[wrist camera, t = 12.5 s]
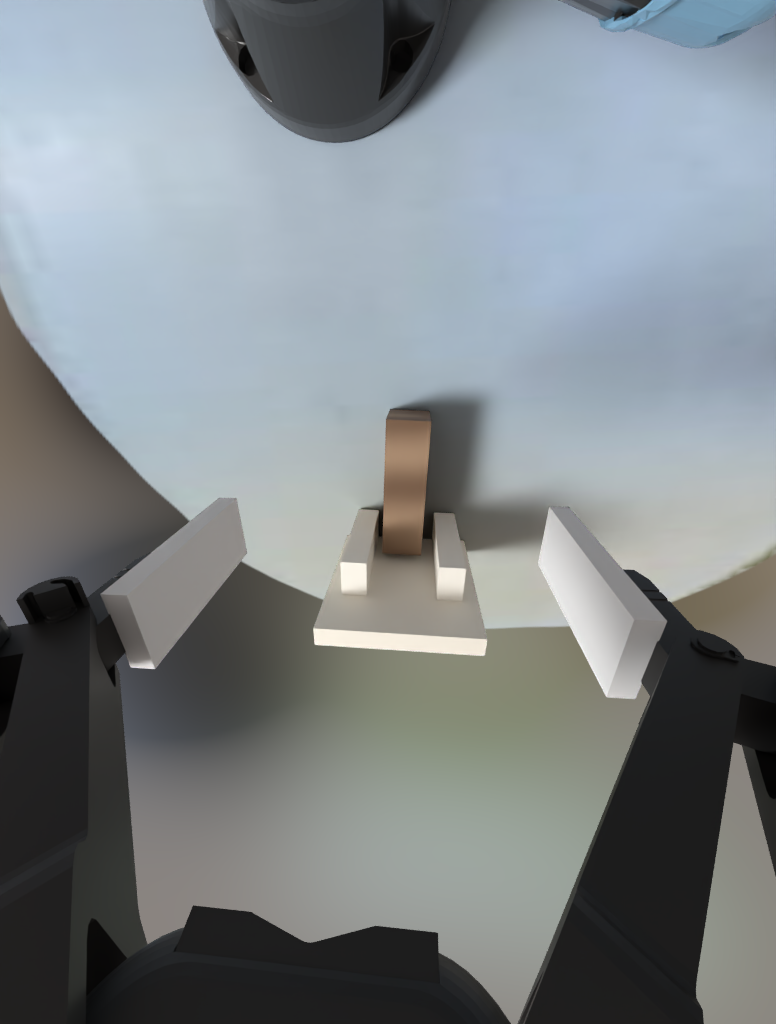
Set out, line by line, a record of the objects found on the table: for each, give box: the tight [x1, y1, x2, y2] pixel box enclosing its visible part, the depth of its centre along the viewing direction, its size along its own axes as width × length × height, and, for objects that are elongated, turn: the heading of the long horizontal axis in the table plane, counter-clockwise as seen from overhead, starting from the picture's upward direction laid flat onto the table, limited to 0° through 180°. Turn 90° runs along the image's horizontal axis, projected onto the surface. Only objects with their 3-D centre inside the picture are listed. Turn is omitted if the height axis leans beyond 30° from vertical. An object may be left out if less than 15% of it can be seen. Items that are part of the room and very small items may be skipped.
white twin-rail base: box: [314, 509, 487, 656], centre depth 32 cm, size 4×12×14 cm, turn 89°
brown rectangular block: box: [382, 409, 431, 556], centre depth 33 cm, size 12×4×5 cm, turn 178°
